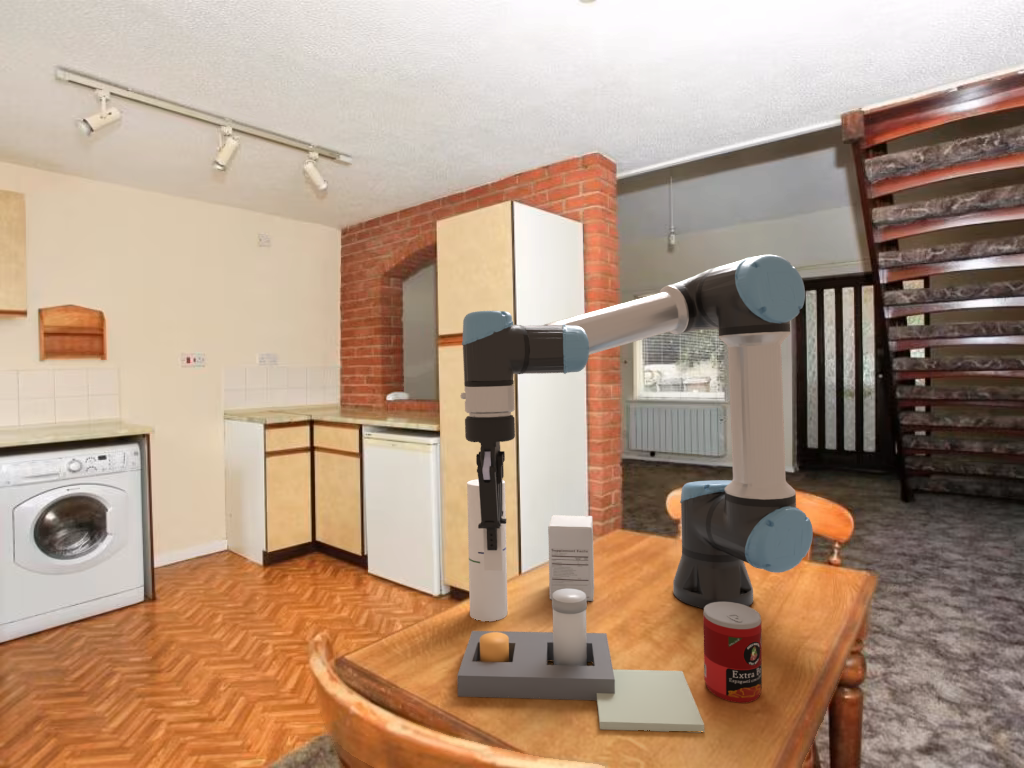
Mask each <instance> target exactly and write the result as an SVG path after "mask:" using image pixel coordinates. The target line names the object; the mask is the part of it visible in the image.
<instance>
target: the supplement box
mask: <svg viewBox="0 0 1024 768" xmlns="http://www.w3.org/2000/svg"><path fill="white" fill-rule="evenodd" d="M593 527H594V525H593V516H592V515H564V514H563V515H562V514H553V515H551V518H550V520H549V523H548V527H547V528H548V529H547V532H548V533H547V534H548V572H549V573H548V580H549V581H548V582H549V600H552V594H553V593H554V592H555V591H557V590H560V589H577V590H581V591H583V592H584V593H585V594H586V597H587V602H594V596H595V595H594V594H595V574H594V573H595V568H594V567H595V565H594V564H595V563H594V532H593V531H594V528H593Z"/></svg>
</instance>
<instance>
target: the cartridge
mask: <svg viewBox="0 0 1024 768" xmlns="http://www.w3.org/2000/svg"><path fill="white" fill-rule="evenodd" d="M587 602H588V601H587V597H586V594H585V593H584V592H583V591H581V590H577V589H560V590H557V591H555V592H554V593H553V594H552V599H551V608H552V632H553V654H554V661H553V665H573V666H588V662H587V640H586V633H587V607H588V606H587V605H588V604H587Z"/></svg>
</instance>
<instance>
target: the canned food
mask: <svg viewBox="0 0 1024 768" xmlns="http://www.w3.org/2000/svg"><path fill="white" fill-rule="evenodd" d="M702 614H703V615H702V616H703V623H702V624H703V675H704V676H703V678H704V682H705V686H706V688H707V689H708V691H709V692H710V693H712V694H713V695H714V696H716V697H718V698H720V699H722V700H723V701H724V700H725V701H728V702H731V703H737V702H738V704H744V703H745V704H746V702H747V703H751V702H753V701H756V700H758V698H759V697H760V695H761V693H762V688H763V682H762V681H763V677H762V676H763V675H762V672H763V665H762V661H763V660H762V658H763V657H762V655H763V654H762V653H763V652H762V645H763V644H762V634H763V633H762V632H763V631H762V618H761V617H762V616H761V614H760V612H759V611H757V609H754V608H752V607H750V606H746V605H742V604H739V603H734V602H714V603H710V604H708V605H706V606H705V607H704V608H703V613H702Z"/></svg>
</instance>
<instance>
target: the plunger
mask: <svg viewBox="0 0 1024 768" xmlns="http://www.w3.org/2000/svg"><path fill="white" fill-rule="evenodd" d="M479 662H509V638H508V636H507V635H506V634H503V633H499V632H491V633H487V634H484V635H482V636H481V637H480V661H479Z"/></svg>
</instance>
